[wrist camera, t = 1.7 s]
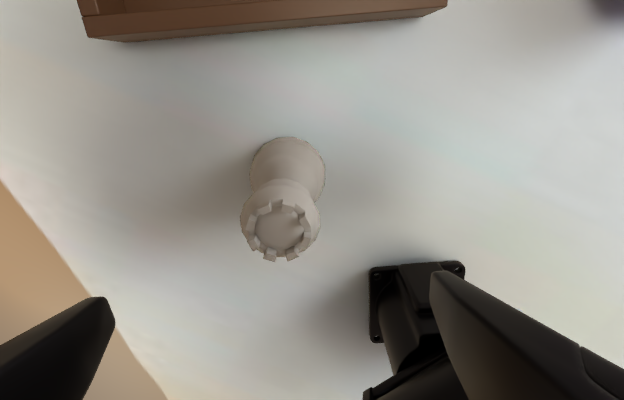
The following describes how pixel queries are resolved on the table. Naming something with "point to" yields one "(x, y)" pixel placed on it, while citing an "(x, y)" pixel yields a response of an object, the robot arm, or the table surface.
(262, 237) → the rook chess piece
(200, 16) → the tray
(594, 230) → the table surface
